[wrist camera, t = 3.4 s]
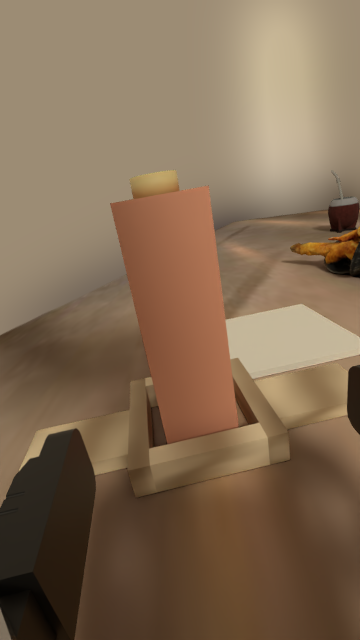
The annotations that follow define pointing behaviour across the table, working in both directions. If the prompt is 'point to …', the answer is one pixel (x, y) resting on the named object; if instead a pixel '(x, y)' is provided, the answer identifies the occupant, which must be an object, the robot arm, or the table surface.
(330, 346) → the felt pad
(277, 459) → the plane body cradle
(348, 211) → the mate gourd
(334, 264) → the fried shrimp in bowl
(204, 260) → the salmon block with knob
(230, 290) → the table surface
